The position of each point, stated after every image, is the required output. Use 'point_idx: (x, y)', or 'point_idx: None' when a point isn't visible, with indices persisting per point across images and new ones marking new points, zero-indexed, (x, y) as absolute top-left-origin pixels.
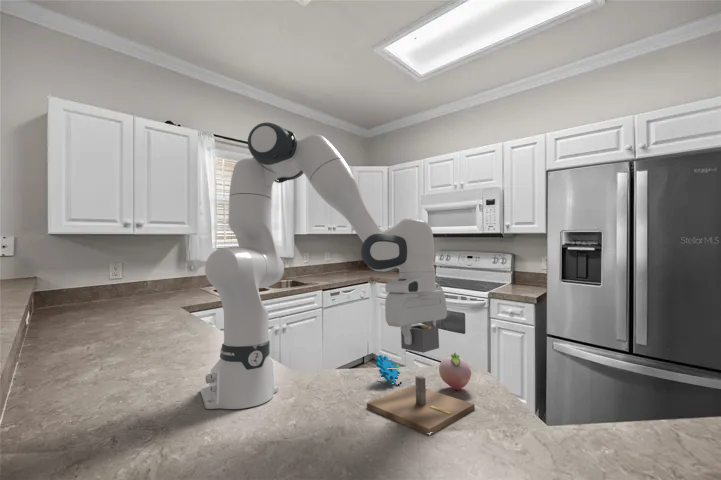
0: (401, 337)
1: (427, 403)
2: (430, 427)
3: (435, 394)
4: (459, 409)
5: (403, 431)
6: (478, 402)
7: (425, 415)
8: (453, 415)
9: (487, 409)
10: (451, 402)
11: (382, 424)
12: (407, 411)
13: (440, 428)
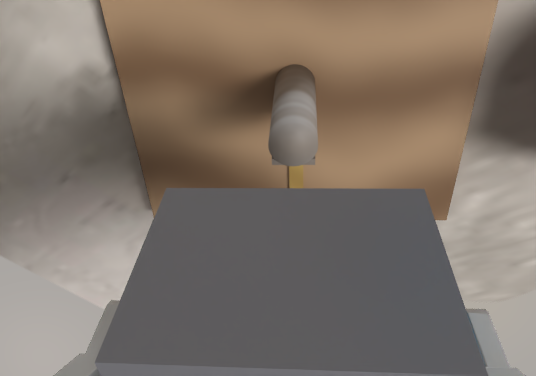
0: (137, 263)
1: (319, 104)
2: None
3: (451, 63)
4: None
5: (105, 146)
6: (525, 188)
7: (217, 163)
8: None
9: (471, 231)
10: (402, 162)
11: (65, 65)
12: (185, 99)
13: None
